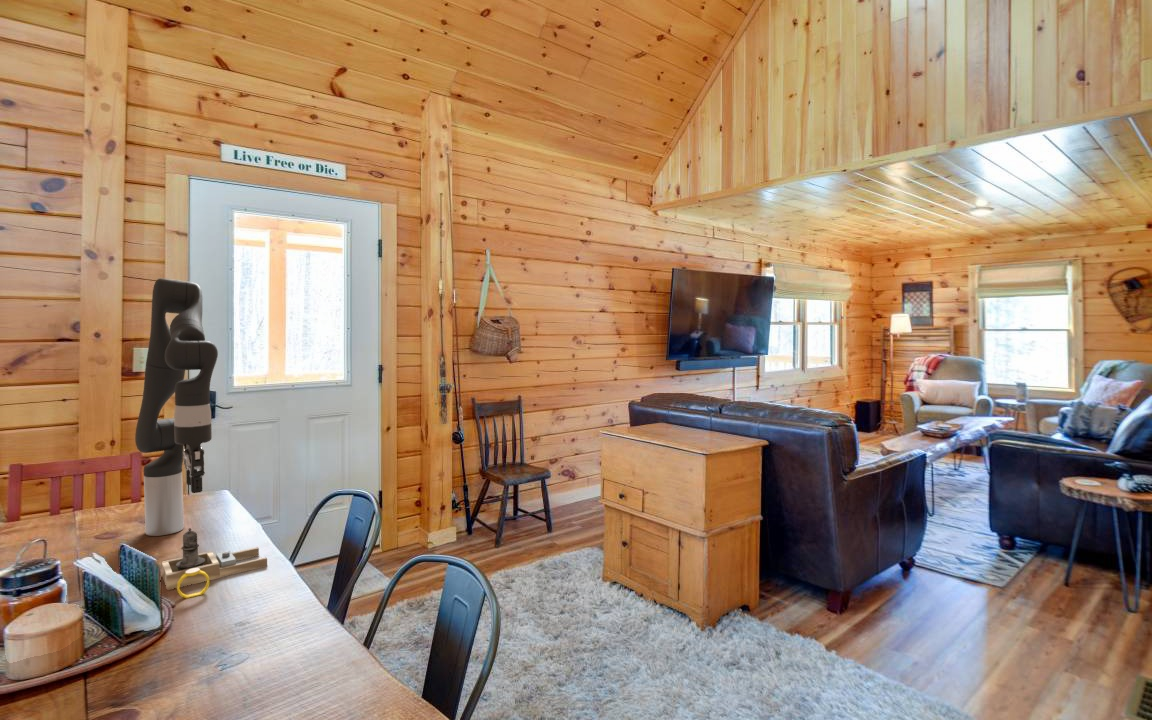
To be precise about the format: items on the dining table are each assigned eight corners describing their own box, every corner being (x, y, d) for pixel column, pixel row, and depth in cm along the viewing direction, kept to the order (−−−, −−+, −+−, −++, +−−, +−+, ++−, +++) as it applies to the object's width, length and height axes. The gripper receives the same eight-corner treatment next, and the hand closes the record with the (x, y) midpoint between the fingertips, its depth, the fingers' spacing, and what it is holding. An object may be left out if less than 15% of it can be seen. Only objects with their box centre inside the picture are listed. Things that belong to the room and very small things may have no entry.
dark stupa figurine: (190, 583, 135) (189, 533, 135) (170, 580, 137) (168, 531, 136) (211, 572, 141) (210, 524, 141) (191, 570, 142) (189, 523, 142)
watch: (179, 603, 126) (175, 577, 126) (178, 598, 128) (175, 572, 128) (211, 593, 130) (208, 568, 129) (209, 589, 132) (206, 564, 132)
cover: (216, 565, 145) (216, 550, 145) (230, 562, 147) (229, 547, 147) (222, 574, 140) (221, 559, 140) (236, 571, 142) (235, 555, 142)
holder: (161, 575, 139) (161, 561, 139) (257, 554, 153) (257, 541, 153) (167, 590, 131) (166, 575, 131) (267, 566, 145) (267, 552, 145)
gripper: (216, 425, 136) (217, 492, 137) (206, 417, 147) (207, 479, 148) (177, 428, 132) (179, 498, 133) (171, 420, 142) (172, 484, 143)
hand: (194, 488), depth 140 cm, fingers open, 8 cm apart
